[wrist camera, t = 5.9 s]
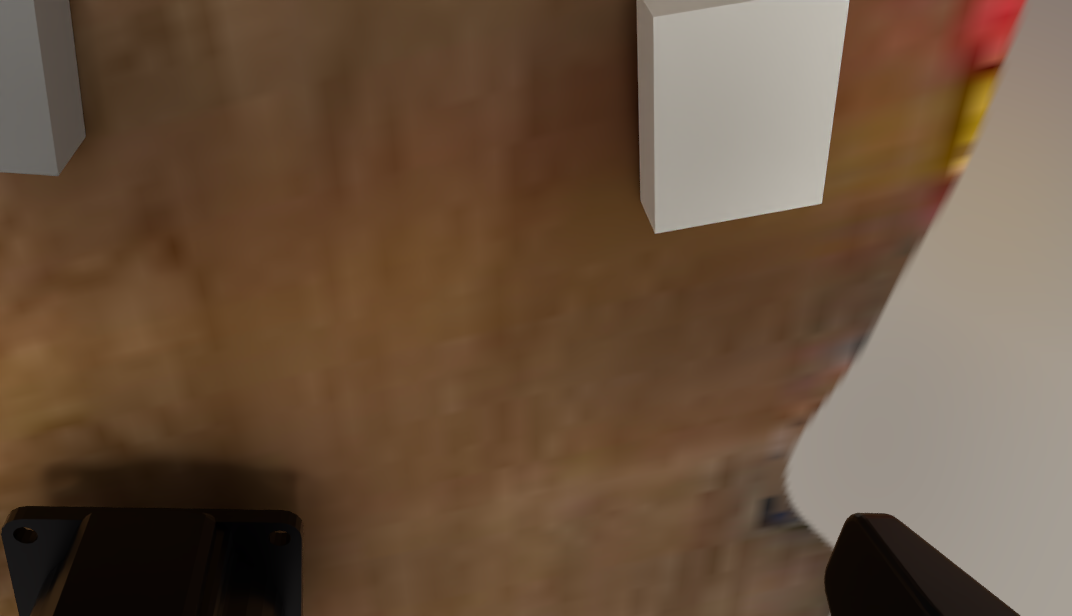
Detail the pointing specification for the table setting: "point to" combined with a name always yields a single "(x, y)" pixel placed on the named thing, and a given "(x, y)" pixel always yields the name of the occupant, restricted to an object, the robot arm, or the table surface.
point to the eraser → (735, 106)
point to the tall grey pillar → (38, 87)
